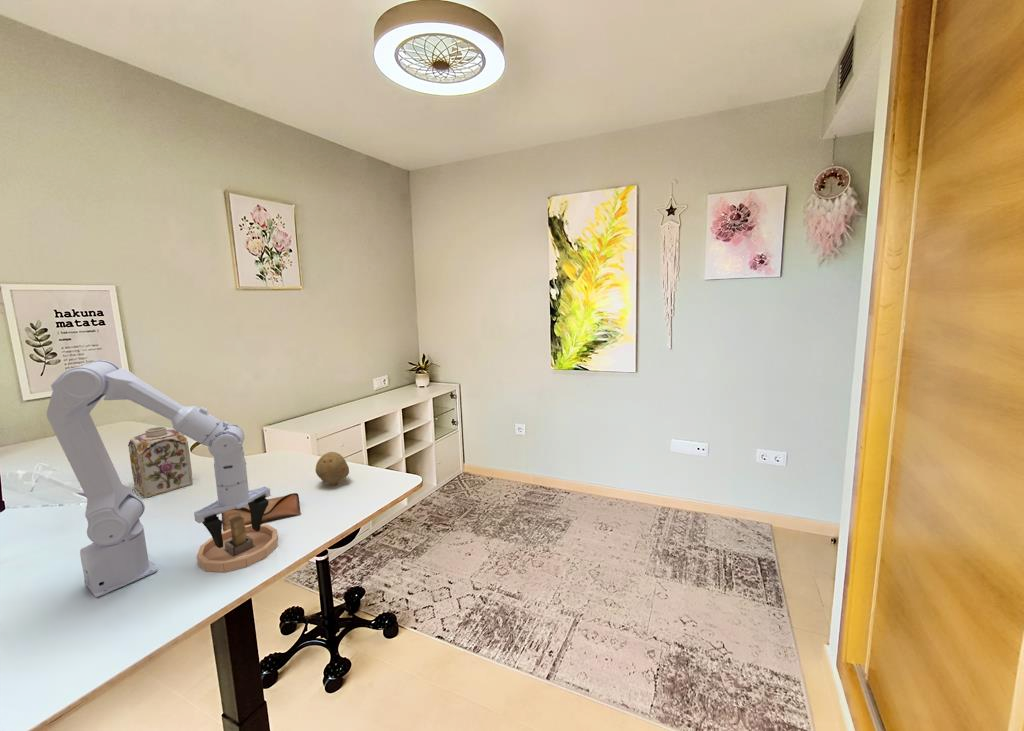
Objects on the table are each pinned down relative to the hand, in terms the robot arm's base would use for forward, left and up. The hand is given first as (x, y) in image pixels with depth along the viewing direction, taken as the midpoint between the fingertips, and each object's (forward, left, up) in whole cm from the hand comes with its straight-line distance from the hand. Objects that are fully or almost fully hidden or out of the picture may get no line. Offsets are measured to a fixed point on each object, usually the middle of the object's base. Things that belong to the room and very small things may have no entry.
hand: (238, 537), depth 95 cm
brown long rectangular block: (0, 0, -2) cm, 2 cm away
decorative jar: (+3, +53, -3) cm, 53 cm away
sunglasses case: (+10, +10, -4) cm, 15 cm away
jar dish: (0, 0, -3) cm, 3 cm away
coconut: (+32, +13, -3) cm, 35 cm away
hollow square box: (0, 0, -3) cm, 3 cm away
